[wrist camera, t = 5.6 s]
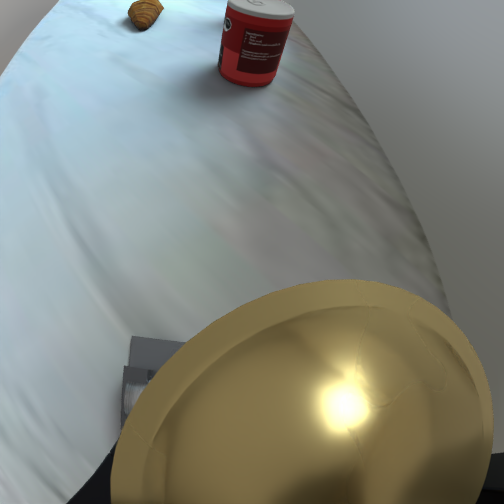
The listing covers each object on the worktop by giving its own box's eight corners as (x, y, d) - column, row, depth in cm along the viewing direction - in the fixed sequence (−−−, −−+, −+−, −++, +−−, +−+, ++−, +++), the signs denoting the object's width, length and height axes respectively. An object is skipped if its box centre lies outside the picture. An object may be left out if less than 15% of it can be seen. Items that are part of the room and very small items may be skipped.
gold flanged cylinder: (246, 465, 13) (381, 626, 1) (162, 418, 13) (46, 541, 1) (294, 388, 15) (520, 371, 3) (213, 341, 15) (272, 199, 3)
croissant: (132, 10, 41) (131, -10, 37) (164, 7, 43) (165, -13, 38) (122, 35, 36) (121, 11, 32) (162, 30, 38) (163, 6, 34)
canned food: (239, 53, 37) (252, -10, 27) (285, 75, 36) (307, 9, 26) (204, 71, 34) (213, -1, 24) (254, 95, 33) (274, 19, 23)
